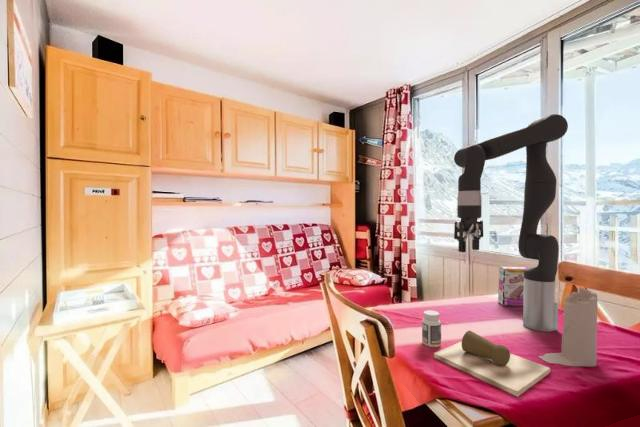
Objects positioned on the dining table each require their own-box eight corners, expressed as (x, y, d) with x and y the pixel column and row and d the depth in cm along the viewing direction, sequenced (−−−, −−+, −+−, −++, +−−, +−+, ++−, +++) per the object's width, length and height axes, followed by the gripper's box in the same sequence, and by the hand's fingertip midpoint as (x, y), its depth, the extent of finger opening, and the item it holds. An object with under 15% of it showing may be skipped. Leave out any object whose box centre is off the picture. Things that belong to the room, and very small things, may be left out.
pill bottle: (441, 341, 98) (441, 311, 98) (440, 349, 93) (440, 316, 93) (423, 338, 100) (423, 308, 100) (420, 345, 95) (421, 314, 95)
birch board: (433, 357, 88) (433, 353, 88) (468, 341, 98) (468, 338, 98) (517, 396, 70) (517, 391, 70) (550, 372, 80) (550, 368, 80)
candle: (533, 353, 90) (534, 286, 89) (581, 354, 90) (582, 286, 89) (551, 366, 83) (552, 293, 82) (603, 367, 82) (605, 293, 82)
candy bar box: (503, 306, 132) (503, 268, 132) (497, 302, 137) (498, 266, 137) (530, 307, 131) (531, 269, 131) (524, 303, 136) (524, 266, 136)
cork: (465, 328, 88) (505, 344, 79) (475, 333, 91) (515, 349, 82) (459, 348, 87) (499, 367, 78) (469, 353, 90) (509, 371, 81)
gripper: (468, 204, 99) (468, 254, 99) (490, 204, 107) (490, 250, 107) (447, 204, 105) (447, 251, 105) (470, 204, 113) (469, 248, 113)
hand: (469, 250), depth 106 cm, fingers open, 8 cm apart
